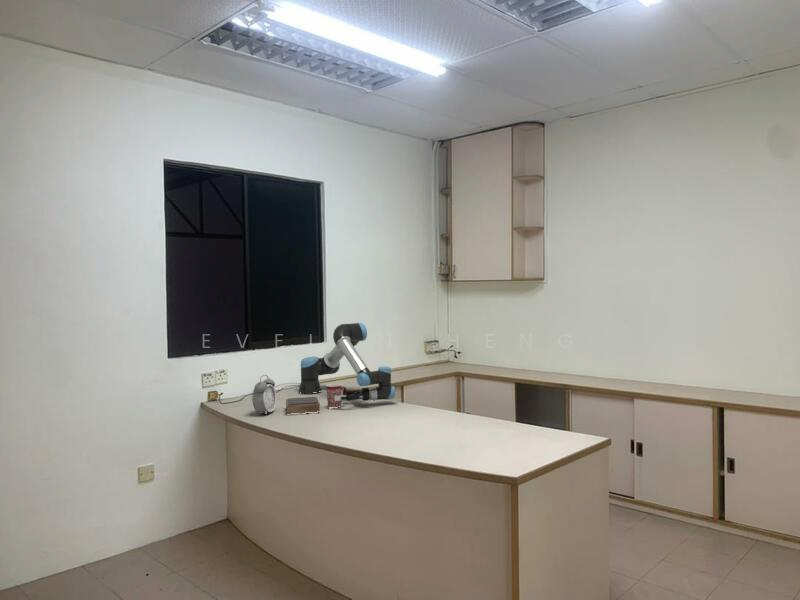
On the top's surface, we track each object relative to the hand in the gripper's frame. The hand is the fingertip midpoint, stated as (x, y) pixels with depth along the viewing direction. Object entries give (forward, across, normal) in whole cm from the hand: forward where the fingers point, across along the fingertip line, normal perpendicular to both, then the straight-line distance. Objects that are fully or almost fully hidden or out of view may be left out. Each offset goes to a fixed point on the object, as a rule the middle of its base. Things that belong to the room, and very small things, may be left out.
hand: (333, 396), depth 325 cm
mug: (-2, 0, -7) cm, 7 cm away
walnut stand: (+18, -3, -7) cm, 19 cm away
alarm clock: (+39, -4, -7) cm, 40 cm away
